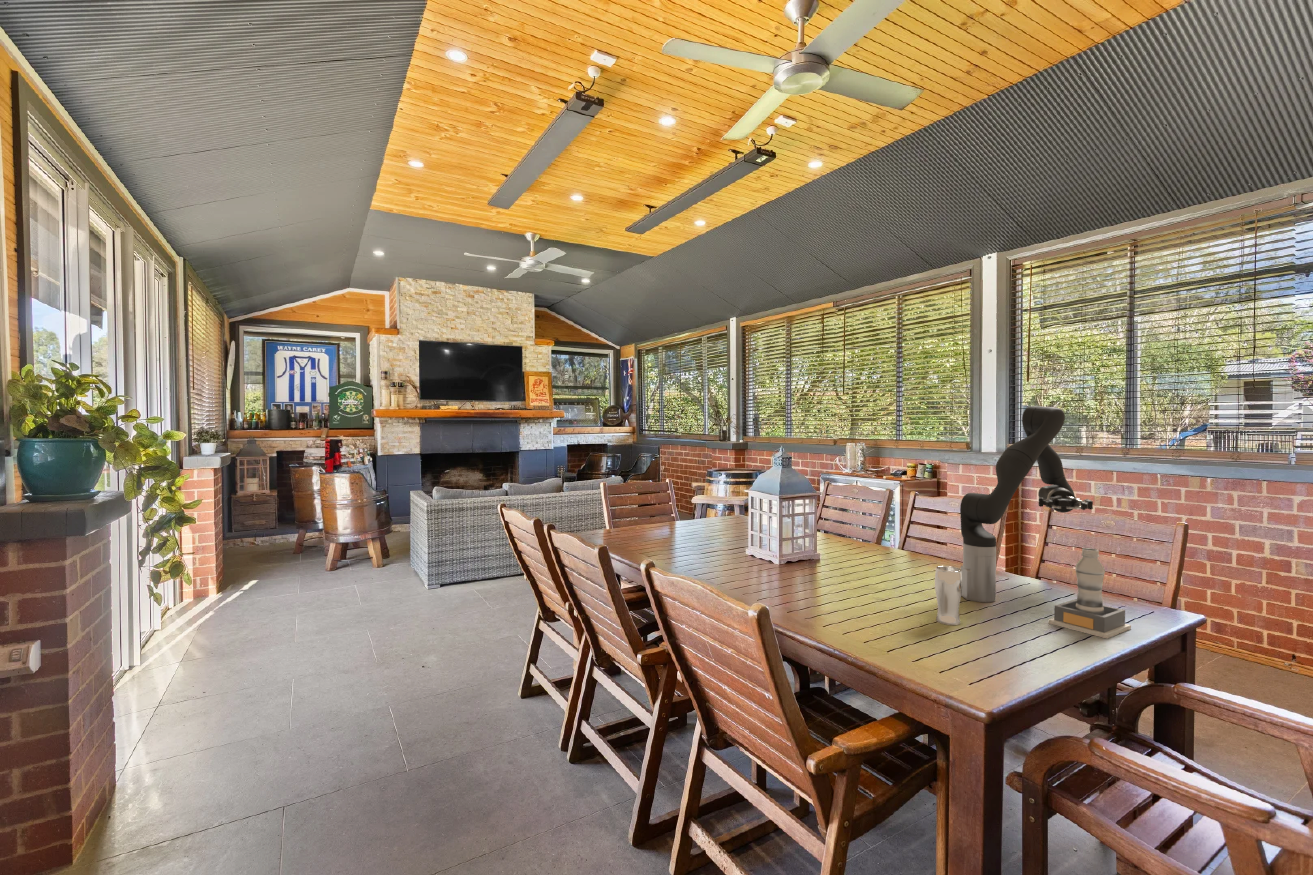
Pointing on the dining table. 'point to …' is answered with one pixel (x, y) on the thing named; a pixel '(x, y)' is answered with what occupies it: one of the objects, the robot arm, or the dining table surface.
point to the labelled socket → (1090, 620)
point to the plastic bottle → (1090, 582)
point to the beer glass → (948, 594)
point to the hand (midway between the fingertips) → (1067, 505)
